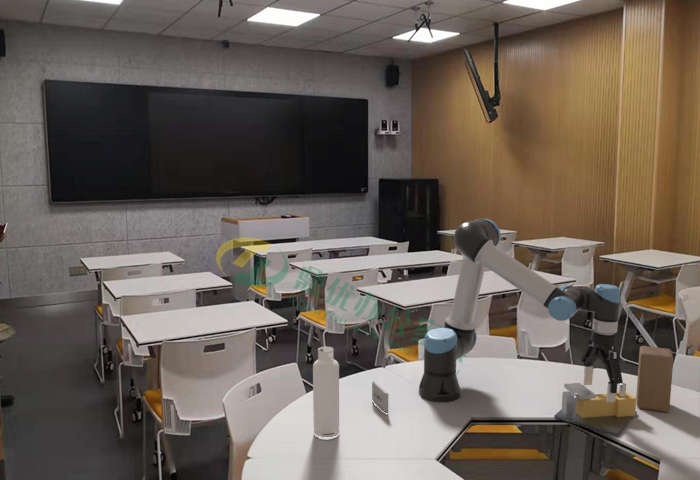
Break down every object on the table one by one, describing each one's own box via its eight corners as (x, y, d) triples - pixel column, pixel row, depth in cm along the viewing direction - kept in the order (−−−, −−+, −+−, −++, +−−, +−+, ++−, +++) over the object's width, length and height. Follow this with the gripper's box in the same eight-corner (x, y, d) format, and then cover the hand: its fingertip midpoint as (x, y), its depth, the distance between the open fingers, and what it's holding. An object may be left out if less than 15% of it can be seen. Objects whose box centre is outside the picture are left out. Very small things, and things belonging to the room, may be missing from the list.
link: (623, 407, 201) (624, 390, 201) (635, 415, 195) (636, 398, 194) (574, 411, 199) (575, 394, 198) (584, 419, 192) (585, 402, 192)
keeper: (577, 411, 201) (579, 382, 199) (594, 424, 191) (596, 394, 190) (556, 412, 200) (557, 384, 198) (571, 426, 190) (573, 396, 188)
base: (554, 418, 196) (556, 386, 194) (577, 398, 211) (579, 369, 210) (617, 436, 183) (619, 403, 181) (636, 414, 198) (639, 383, 197)
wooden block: (667, 402, 208) (671, 348, 205) (669, 413, 199) (673, 357, 196) (636, 397, 212) (639, 344, 209) (636, 408, 203) (640, 353, 200)
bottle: (330, 442, 180) (329, 355, 176) (308, 436, 184) (307, 350, 180) (344, 432, 186) (343, 347, 182) (323, 426, 191) (322, 343, 187)
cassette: (389, 415, 199) (389, 393, 198) (384, 416, 198) (384, 394, 197) (375, 401, 210) (375, 380, 209) (370, 402, 209) (370, 381, 208)
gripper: (573, 320, 204) (569, 378, 207) (616, 344, 180) (610, 409, 183) (593, 320, 205) (588, 377, 209) (638, 343, 181) (632, 408, 184)
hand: (598, 392), depth 196 cm, fingers open, 13 cm apart
